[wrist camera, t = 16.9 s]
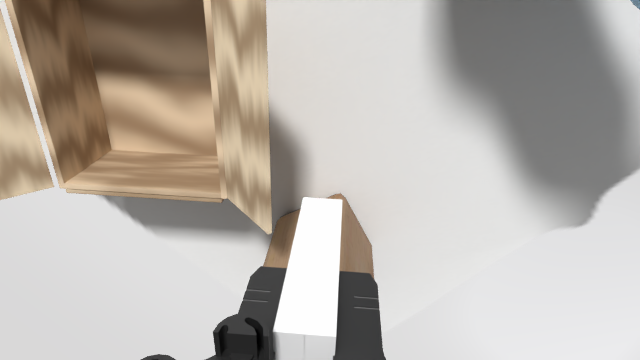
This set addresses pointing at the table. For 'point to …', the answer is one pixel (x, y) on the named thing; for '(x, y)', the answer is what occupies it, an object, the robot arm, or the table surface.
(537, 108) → the table surface
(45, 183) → the flap far
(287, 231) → the wooden block
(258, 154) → the flap near
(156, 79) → the carton
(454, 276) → the table surface
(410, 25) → the table surface
